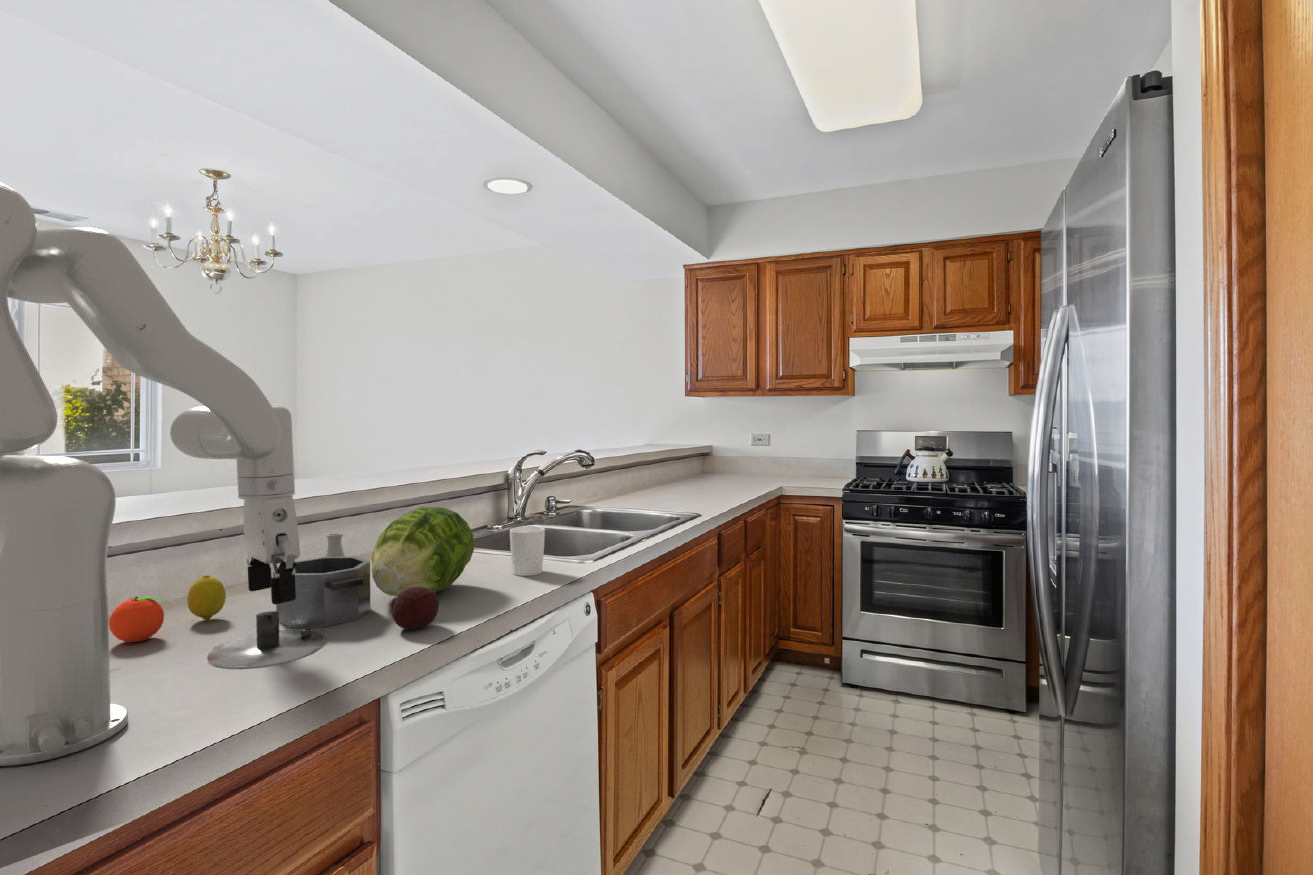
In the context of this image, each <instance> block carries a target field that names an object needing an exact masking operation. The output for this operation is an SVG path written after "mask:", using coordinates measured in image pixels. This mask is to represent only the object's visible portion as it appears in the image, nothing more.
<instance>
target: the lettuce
mask: <svg viewBox="0 0 1313 875" xmlns="http://www.w3.org/2000/svg"><path fill="white" fill-rule="evenodd" d="M474 539H475V538H474V534H473V532H472V529H471V528H470V526H469V523H468V522H467V521H466V520H465V519H464V518H463V517H462V516H461V515H460V514H459V513H458V512H456V511H453V510H452V509H449V508H447V507H437V506H435V507H434V506H422V507H418V508H416V509H414V510H413V509H412V510H410V511H409V512H405V513H403V514H402V515H401V516H400V517H398V518H397V519H395V520H394V521H392V522H391V523H390V524H389V525H388V526H387V527H386V528H385V529H384V530H383V532H381V534H380V535H378V538H377V540H376V541H375V544H374V549H373V551H372V556H371V566H372V567H371V574H372V580H373V581H374V583H375V586H376V587H377V588H378V589H379V590H380V591H381V592H382V593H384V594H386V595H388V596H390V597H397V596H398V595H399V594H400V593H401V592H403V591H404V590H406V589H408V588H411V587H424V588H428V589H431V590H432V591H434V592H435V594H436V593H438V592H440V591H442V590H444V589H446V588H450V587H451V586H452V585H453V584H454V582H455V581H457V579H458V578H459V577H460V576H461V575H462V573H463V572H464V570H465V568H466V566H467V565H468V564H469V563H470V561H471V559H472V556H473V554H474V552H475V551H474V550H475V540H474Z"/></svg>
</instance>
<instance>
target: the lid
mask: <svg viewBox="0 0 1313 875" xmlns="http://www.w3.org/2000/svg"><path fill="white" fill-rule="evenodd" d="M255 616H256V617H255V618H256V621H255V622H256V623H255V625H256V633H252V634H248V635H243V636H239V637H237V638H234V639H231V640H228V641H225V642H223V643H221V644H219V645H217V646H214V647H213V648H212V649H211V650H209V652H208V653H207V655H206V656H207V657H206V660H207V662H208V664H210V665H212V666H214V667H219V668H226V669H251V668H253V669H254V668H260V667H268V666H273V665H278V664H279V665H280V664H283V663H287V662H291V661H294V660H298V659H301V658H303V657H305V656H308V655H310V654H311V655H312V653H314V652H316V651H318V650H320V649H321V648H322V647H323V645H325V642H326V641H325V636H324V635H323V634H322V633H320V632H318V631H314V630H312V627H303V628H302V629H280V622H279V612H276V610H273V611H272V610H271V611H264V612H263V611H262V612H260V613H257V614H256V615H255Z"/></svg>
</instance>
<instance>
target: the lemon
mask: <svg viewBox="0 0 1313 875" xmlns="http://www.w3.org/2000/svg"><path fill="white" fill-rule="evenodd" d="M226 595H227V594H226V590H225V586H224V584H223V583H222V581H221V580H219V579H218V578H216V577H214V576H210V575H209V574H204V575H202V577H201V578H199V579H197V580H195V581H194V582H193V583H192V584H191V585H190V587H189V589H188V593H187V607H188V609H189V611H190V612H191V613H192V615H194V616H196V617H199V618H201V619H203V620H204V621H210V620H211V618H212V617H213V616H215V615H216V614H219V613H220V612H221V610H223V608H224V605H225V602H226V597H227V596H226Z"/></svg>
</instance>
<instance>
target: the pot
mask: <svg viewBox="0 0 1313 875" xmlns="http://www.w3.org/2000/svg"><path fill="white" fill-rule="evenodd" d="M295 563H296V565H295V571H296V573H295V589H296V599H295V600H293V601H289V602H285V603H280V604H276V605H275V606H276V610H275V611H276V612H279V624H280V623H281V624H282V625H284V626H286V627H287V628H291V629H292V628H327V627H330V626H335V625H338V624H343V623H347V622H351V621H355V620H359V619H361V618H362V617H363V616H364V615H366V614H367V613H368V612H369V611H371V607H372V606H371V561H370V560H368V559H363V558H361V557H359V556H345V557H325V556H322V557H320V556H319V557H315V558H314V557H313V558H308V559H302V560H301V559H300V560H295Z"/></svg>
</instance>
